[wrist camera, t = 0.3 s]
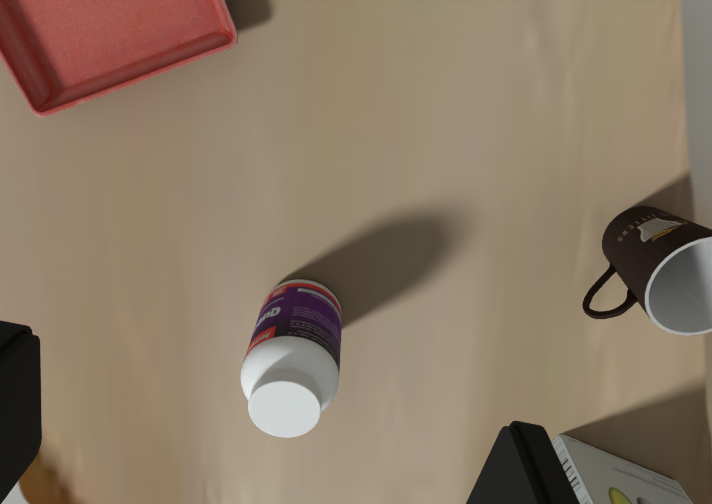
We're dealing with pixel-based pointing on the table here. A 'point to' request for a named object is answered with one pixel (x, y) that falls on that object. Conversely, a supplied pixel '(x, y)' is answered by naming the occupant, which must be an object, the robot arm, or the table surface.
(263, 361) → the pill bottle
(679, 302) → the coffee mug
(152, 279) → the table surface
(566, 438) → the supplement box
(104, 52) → the plant saucer
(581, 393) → the table surface
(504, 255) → the table surface
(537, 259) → the table surface
